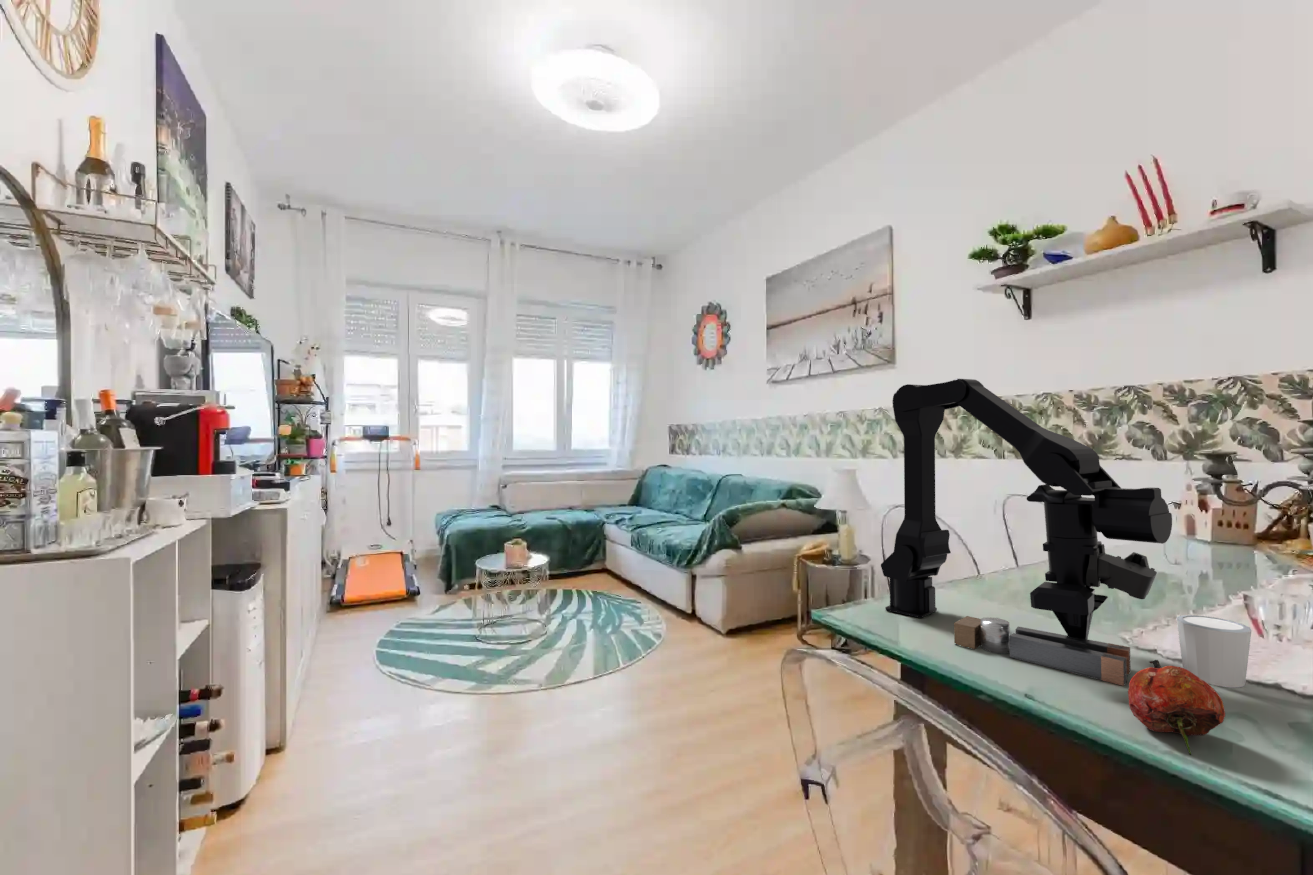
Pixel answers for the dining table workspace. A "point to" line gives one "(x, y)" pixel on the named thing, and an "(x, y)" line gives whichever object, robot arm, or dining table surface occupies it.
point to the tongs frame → (1039, 650)
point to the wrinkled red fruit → (1174, 701)
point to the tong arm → (1079, 643)
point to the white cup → (1214, 649)
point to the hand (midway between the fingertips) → (1080, 649)
